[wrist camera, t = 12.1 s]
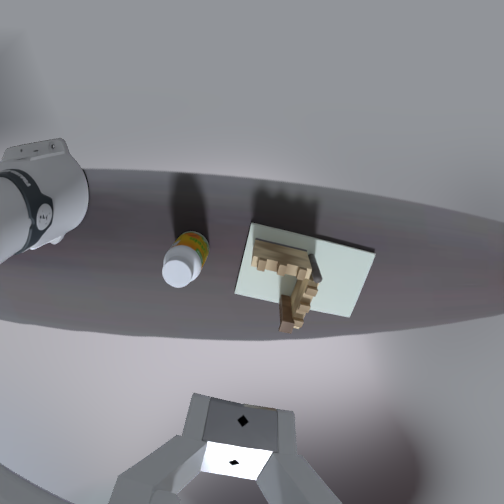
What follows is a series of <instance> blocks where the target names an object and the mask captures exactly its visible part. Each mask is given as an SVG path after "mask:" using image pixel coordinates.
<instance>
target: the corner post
mask: <svg viewBox="0 0 504 504" xmlns="http://www.w3.org/2000/svg"><path fill="white" fill-rule="evenodd" d="M279 309H280V327H279V331H280V332H285V333H292V330H293V327H294V324H295V321H293V320H292V311H291V303H290V296H287V295H282V294H281V297H280V300H279Z"/></svg>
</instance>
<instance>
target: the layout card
mask: <svg viewBox="0 0 504 504" xmlns="http://www.w3.org/2000/svg"><path fill="white" fill-rule="evenodd" d="M255 240H259V241H264V242H268V243H272V244H276V245H281V246H285V247H289V248H293V249H297V250H302V251H306V252H307V254H308V255H309V254H314V256H315V258H316V261H317V264H318V267H319V270H320V273H321V276H322V281H321V282H320V283H319V285H318V287H317V289H318V292H317V294H316V297H314V296H313V299H312V301H311V303H310V306H311V308H310V310H314V311H319V312H324V313H329V314H335V315H340V316H345V317H350V315H351V313H352V311H353V308H354V306H355V304H356V301H357V299H358V297H359V294H360V292H361V289H362V287H363V285H364V282H365V280H366V277H367V275H368V272H369V270H370V267H371V265H372V262H373V259H374V257H375V253H373V252H369V251H365V250H361V249H357V248H354V247H350V246H346V245H342V244H338V243H334V242H330V241H326V240H322V239H318V238H314V237H310V236H306V235H302V234H298V233H294V232H290V231H286V230H282V229H278V228H273V227H269V226H265V225H261V224H257V223H251V227H250V231H249V235H248V239H247V244H246V248H245V252H244V256H243V260H242V264H241V268H240V273H239V277H238V281H237V285H236V289H235V294H240V295H244V296H248V297H253V298H257V299H262V300H267V301H271V302H276V303H279V300H280V297H281V294H282V295H287V296H290V297H291V295H292V292H293V290H294V287H295V285H296V282H297V280H298V279H297V278H296V276H292V275H288V274H285V275H284V276H281V275H277V272H274V271H270V270H266V269H265V271H264V272H263V271H259V270H257V267H253V266H251V261H252V252H253V246H254V242H255Z"/></svg>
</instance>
